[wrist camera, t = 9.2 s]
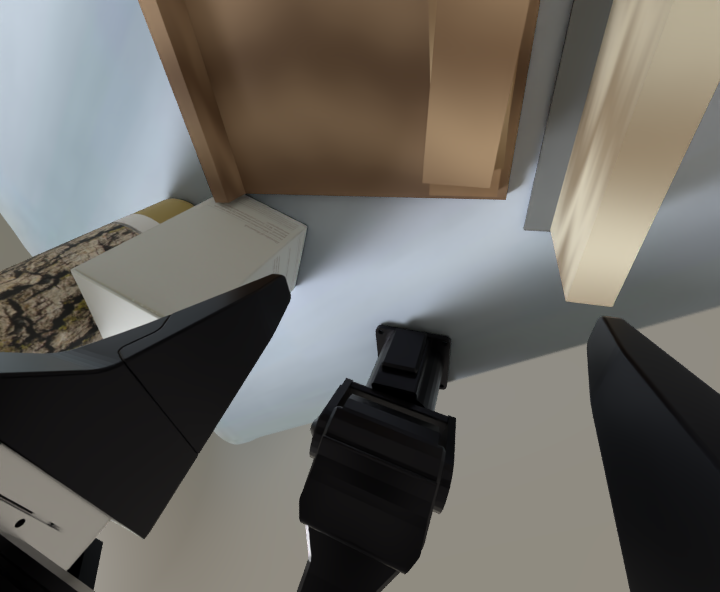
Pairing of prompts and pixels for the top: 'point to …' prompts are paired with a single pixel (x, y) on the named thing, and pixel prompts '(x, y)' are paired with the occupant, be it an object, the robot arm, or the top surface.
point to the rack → (310, 93)
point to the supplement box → (189, 262)
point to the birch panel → (632, 137)
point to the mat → (566, 108)
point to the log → (64, 286)
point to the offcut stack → (470, 93)
